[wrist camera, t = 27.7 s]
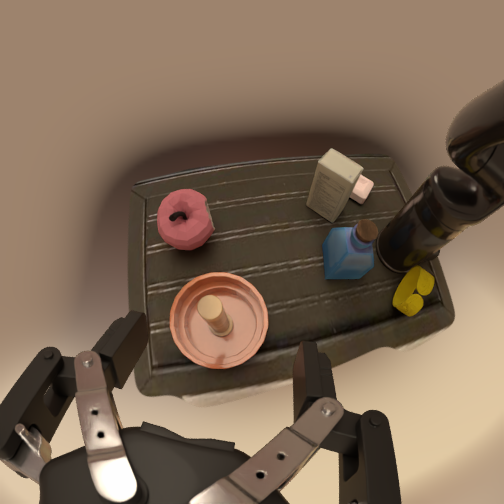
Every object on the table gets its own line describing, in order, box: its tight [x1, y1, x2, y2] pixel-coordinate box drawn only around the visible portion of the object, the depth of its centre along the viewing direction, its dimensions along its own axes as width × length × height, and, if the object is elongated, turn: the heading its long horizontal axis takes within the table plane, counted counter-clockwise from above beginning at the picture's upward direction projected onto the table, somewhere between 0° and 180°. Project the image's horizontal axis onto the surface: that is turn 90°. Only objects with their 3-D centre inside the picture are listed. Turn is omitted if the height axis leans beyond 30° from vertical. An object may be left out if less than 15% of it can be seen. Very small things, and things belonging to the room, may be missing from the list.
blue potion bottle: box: [322, 219, 378, 279], centre depth 40 cm, size 6×6×12 cm
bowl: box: [170, 272, 268, 369], centre depth 39 cm, size 13×13×6 cm
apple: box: [157, 189, 215, 250], centre depth 43 cm, size 10×9×10 cm
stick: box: [197, 295, 233, 337], centre depth 34 cm, size 4×4×14 cm
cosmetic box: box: [306, 149, 363, 223], centre depth 44 cm, size 6×4×12 cm
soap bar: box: [350, 175, 374, 204], centre depth 51 cm, size 5×9×2 cm, turn 54°
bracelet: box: [393, 265, 434, 316], centre depth 40 cm, size 7×8×3 cm
